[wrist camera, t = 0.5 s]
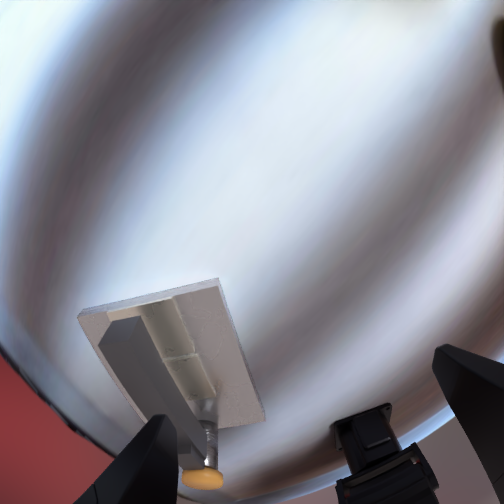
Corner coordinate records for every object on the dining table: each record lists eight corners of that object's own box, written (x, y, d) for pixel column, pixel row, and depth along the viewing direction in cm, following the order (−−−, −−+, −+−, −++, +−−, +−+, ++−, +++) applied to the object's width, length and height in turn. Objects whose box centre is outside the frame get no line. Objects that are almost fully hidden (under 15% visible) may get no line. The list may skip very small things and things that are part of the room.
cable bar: (227, 453, 20) (228, 488, 17) (193, 456, 20) (191, 490, 17) (149, 313, 15) (131, 354, 12) (104, 322, 15) (80, 360, 12)
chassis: (265, 415, 23) (273, 469, 18) (158, 429, 24) (149, 478, 18) (218, 277, 19) (213, 331, 13) (82, 309, 19) (45, 357, 13)
